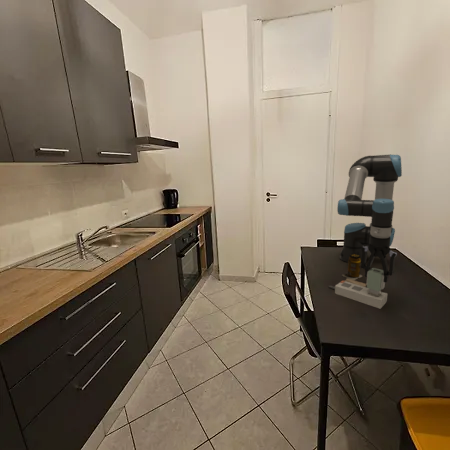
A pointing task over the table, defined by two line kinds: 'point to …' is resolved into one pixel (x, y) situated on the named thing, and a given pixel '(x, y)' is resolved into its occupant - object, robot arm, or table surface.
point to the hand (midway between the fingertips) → (375, 285)
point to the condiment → (353, 267)
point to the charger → (374, 280)
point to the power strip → (360, 294)
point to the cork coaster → (356, 282)
